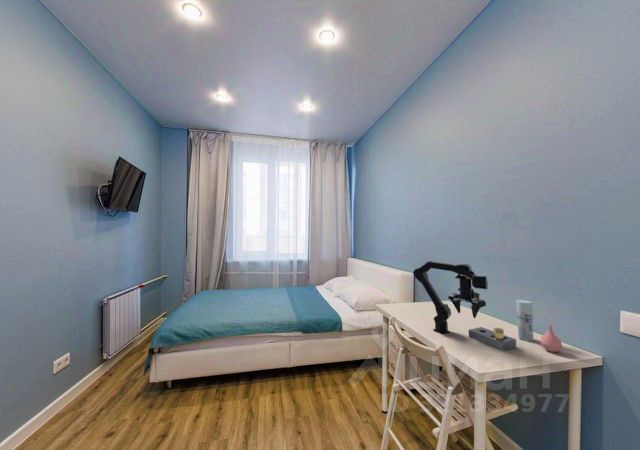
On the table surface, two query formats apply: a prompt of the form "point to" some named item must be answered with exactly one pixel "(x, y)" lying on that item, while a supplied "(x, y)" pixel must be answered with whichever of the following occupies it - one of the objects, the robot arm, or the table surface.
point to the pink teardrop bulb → (551, 341)
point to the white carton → (525, 320)
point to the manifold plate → (492, 339)
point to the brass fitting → (499, 333)
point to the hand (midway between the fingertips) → (466, 315)
